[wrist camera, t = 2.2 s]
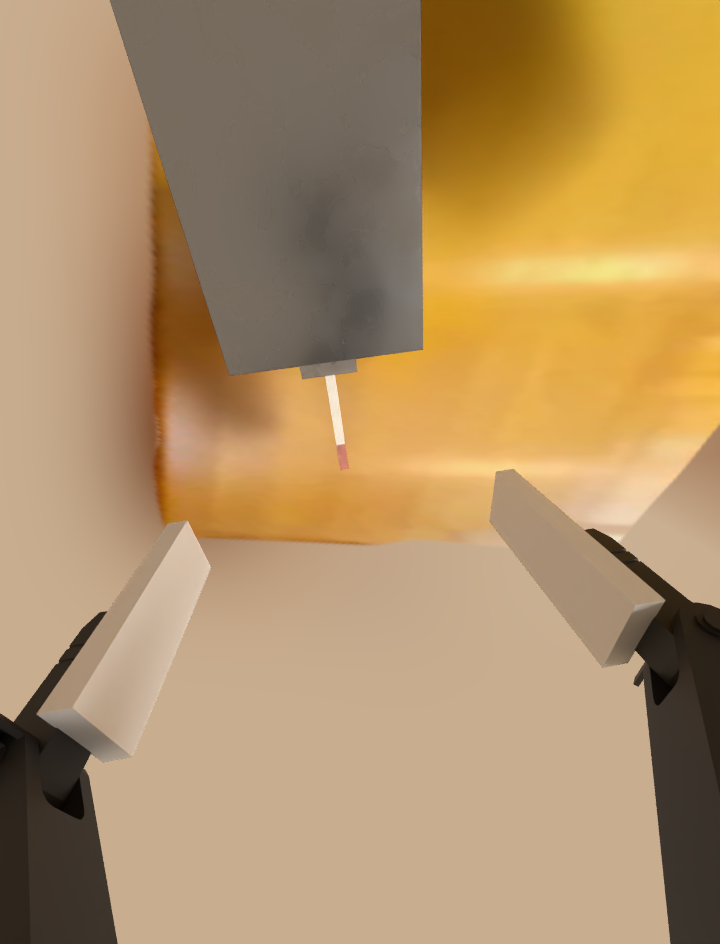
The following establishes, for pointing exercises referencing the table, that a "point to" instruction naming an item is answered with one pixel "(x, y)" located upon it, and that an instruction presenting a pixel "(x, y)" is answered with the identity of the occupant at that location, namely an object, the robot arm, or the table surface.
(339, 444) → the pink-tipped white stick
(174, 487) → the table surface
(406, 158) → the dispenser
